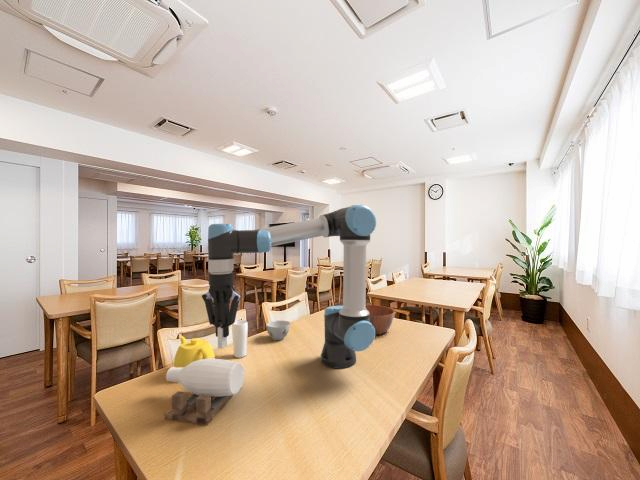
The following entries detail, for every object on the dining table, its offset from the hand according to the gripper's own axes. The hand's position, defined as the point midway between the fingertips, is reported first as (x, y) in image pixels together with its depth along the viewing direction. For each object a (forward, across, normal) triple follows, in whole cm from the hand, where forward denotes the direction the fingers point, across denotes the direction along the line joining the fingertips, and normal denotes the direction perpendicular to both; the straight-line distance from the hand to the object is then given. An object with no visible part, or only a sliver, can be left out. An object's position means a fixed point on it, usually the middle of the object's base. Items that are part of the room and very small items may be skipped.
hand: (222, 346), depth 86 cm
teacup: (+19, +5, -58) cm, 61 cm away
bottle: (+10, -5, -1) cm, 11 cm away
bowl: (+19, -44, -80) cm, 93 cm away
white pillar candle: (+18, +13, -34) cm, 41 cm away
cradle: (+18, +6, 0) cm, 19 cm away
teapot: (+18, +25, -18) cm, 36 cm away
